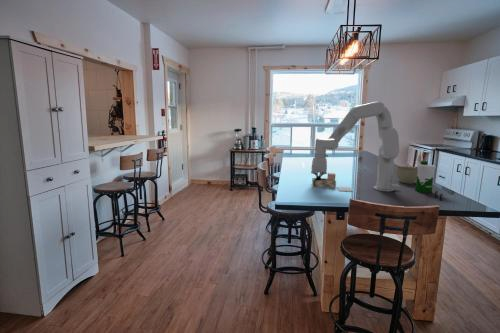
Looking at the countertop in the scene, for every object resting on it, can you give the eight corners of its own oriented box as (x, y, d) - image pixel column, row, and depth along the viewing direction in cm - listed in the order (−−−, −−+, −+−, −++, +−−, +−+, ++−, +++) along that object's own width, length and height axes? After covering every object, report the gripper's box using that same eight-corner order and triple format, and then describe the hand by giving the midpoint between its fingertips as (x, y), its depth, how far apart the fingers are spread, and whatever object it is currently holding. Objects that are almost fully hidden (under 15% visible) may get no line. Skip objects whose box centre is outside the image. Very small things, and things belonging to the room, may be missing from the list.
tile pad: (349, 188, 201) (349, 187, 200) (353, 191, 192) (353, 190, 192) (336, 187, 201) (336, 186, 201) (339, 191, 193) (339, 190, 193)
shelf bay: (333, 184, 210) (333, 178, 209) (335, 187, 202) (336, 181, 201) (312, 183, 211) (312, 177, 211) (313, 186, 203) (313, 180, 202)
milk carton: (423, 189, 200) (426, 160, 196) (434, 192, 192) (438, 162, 188) (412, 190, 198) (416, 161, 194) (423, 193, 189) (427, 163, 186)
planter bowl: (418, 186, 209) (419, 171, 207) (393, 182, 218) (394, 168, 216) (419, 181, 222) (421, 167, 220) (396, 179, 231) (397, 165, 229)
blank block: (333, 185, 208) (334, 173, 207) (334, 187, 204) (335, 174, 202) (327, 185, 209) (327, 172, 207) (328, 186, 204) (328, 174, 203)
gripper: (330, 155, 206) (328, 181, 210) (308, 155, 207) (307, 180, 211) (331, 157, 199) (329, 183, 202) (309, 156, 200) (308, 182, 204)
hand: (318, 181), depth 207 cm, fingers closed
